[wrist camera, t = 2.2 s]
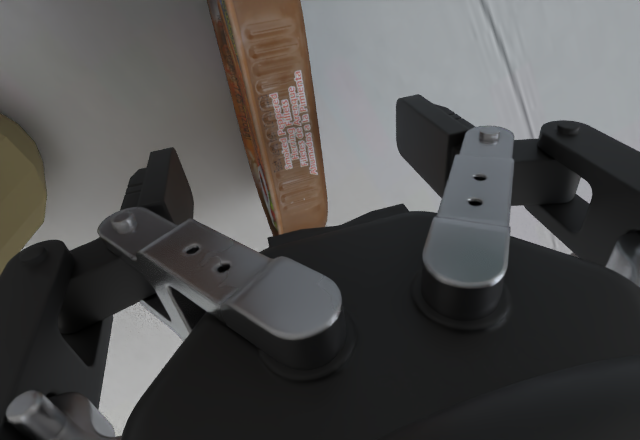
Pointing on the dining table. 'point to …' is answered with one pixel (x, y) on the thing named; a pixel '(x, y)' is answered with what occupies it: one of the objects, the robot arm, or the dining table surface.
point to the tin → (274, 107)
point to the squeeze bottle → (19, 189)
